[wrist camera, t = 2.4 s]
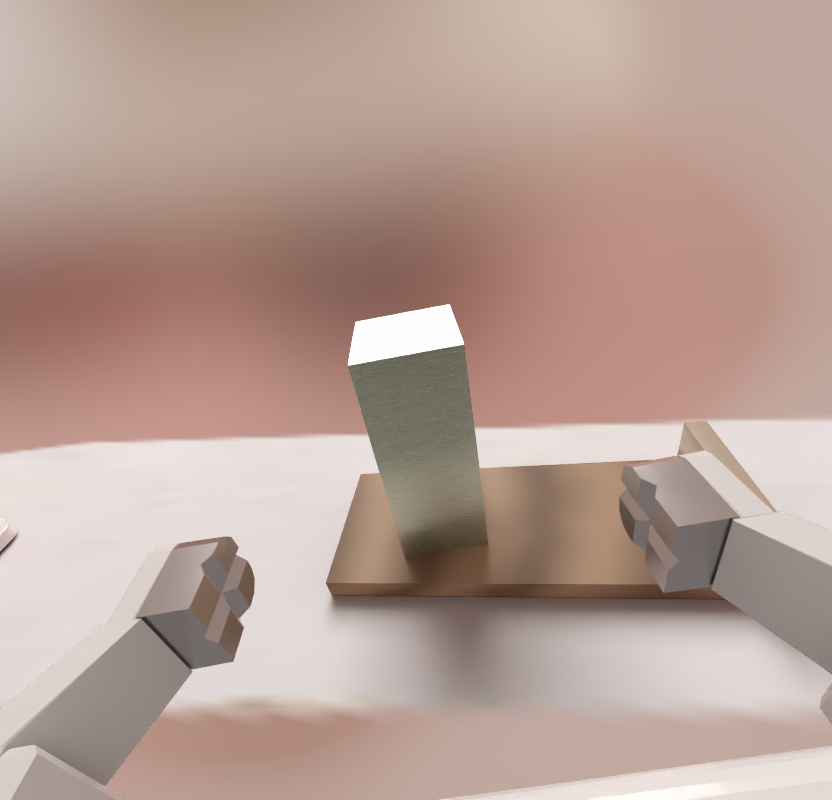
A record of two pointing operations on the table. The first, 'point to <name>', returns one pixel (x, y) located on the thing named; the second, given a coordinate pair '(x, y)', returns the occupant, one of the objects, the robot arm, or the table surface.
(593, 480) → the shelf board
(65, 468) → the table surface
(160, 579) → the robot arm
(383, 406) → the tea tin
